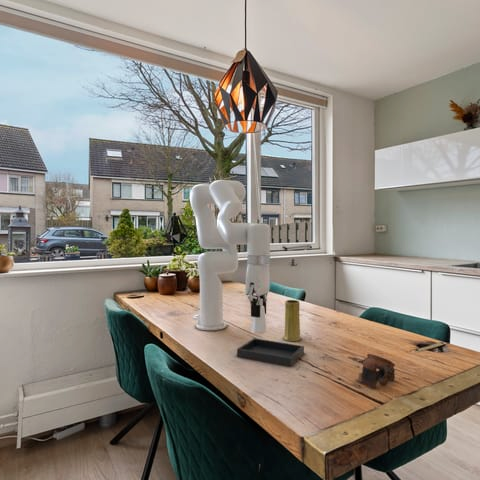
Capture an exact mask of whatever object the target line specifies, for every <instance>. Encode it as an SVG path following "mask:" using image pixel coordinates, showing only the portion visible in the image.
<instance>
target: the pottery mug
mask: <svg viewBox="0 0 480 480" xmlns="http://www.w3.org/2000/svg"><path fill="white" fill-rule="evenodd" d="M366 356H367V357H365V358H364V359H363V360H362V361H361V364H362V368H361V369H362V370H361V372H359V373H358V382H360V383H362V384H364V385H366V386H369V387H372V388H374V389H376V388H377V384H378V385H380V386H381V387H385V386H387V385H388V383H389V382H390V381H394V380H395V377H396V376H395V375H396V374H395V366H396V365H395V363H394V362H392V361H391V360H390V359H387V358H384V357H382V356H380V355H376V354H371V353H368V354H366ZM377 369H378V370H377Z"/></svg>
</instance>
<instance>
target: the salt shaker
mask: <svg viewBox="0 0 480 480" xmlns="http://www.w3.org/2000/svg"><path fill="white" fill-rule="evenodd" d="M255 298H256V300H257V297H255ZM259 305H260V317H252V316H251V326H250V328H251V329H250V332H251V333H252V334H258V335H262V334H266V332H267V330H268V329H267V321H266V319H267V318H266V314H265V309H264V306H262V305H263V299H262V298H260V300H259Z"/></svg>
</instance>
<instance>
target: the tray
mask: <svg viewBox="0 0 480 480" xmlns="http://www.w3.org/2000/svg"><path fill="white" fill-rule="evenodd" d="M304 354H305V346H304V345H299V344H292V343H287V342H280V341H274V340H268V339H262V338H255V337H253V338H252V339H250V340H249V341H247V342H245V343H244V344H242V345H241V346H239V347H238V348H237V349H236V357H237V358H242V359H243V358H244V359H248V360H254V361H258V362H259V361H260V362H263V363H269V364H275V365H280V366H284V367H285V366H286V367H292V366H293V365H294V364H295V363H296V362H298V361H299V359H300V358H301V357H302V356H304Z"/></svg>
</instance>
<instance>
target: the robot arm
mask: <svg viewBox="0 0 480 480" xmlns="http://www.w3.org/2000/svg"><path fill="white" fill-rule="evenodd" d="M246 193H247V190H246V188H245V185H244V183H242V182H241V181H239V180H229V179H217V180H214V181H212V182H211V183H199V184H196V185H193V186H192V187H191V190H190V193H189V201H190V206H191V209H192V212H193V215H194V218H195V225H196V232H197V233H196V234H197V241H198V245H199V247H200V248H201V249H204V250H215V251H205V252H202V253H200V254H199V255H198V257H197V260H196V261H197V262H196V265H197V270H198V277H199V278H198V279H199V314H196V313H195V314H194V315H193V317H192V320H193V321H197V323H196V324H195V325H196V328H197V329H198V330H200V331H220V330H223V329H225V328H226V327H227V322H226V321H224V320H223V319H224V313H223V312H224V311H223V309H224V308H223V303H224V300H223V299H224V298H223V297H224V295H223V294H224V293H223V292H224V288H223V287H224V286H223V282H222V281H221V279H220V278H219V276H218V275H221V274H223V275H224V274H233V273H235V272H236V271H237V270H238V268H239V255H238V248H237V245H241V246H242V245H246V248H247V250H246V251H247V252H246V254H247V255H246V256H247V257H246V258H247V260H246V261H247V263H246V265H247V266H246V272H245V287H244V292H245V293H244V294H245V295H246V296H247V299H248V300H249V304H250V317H251V318H252V317H260V305H259V300H260V298H262V299H263V305H262V306H264V309H265V315H266V314H267V302H268V294H269V292H270V289H271V278H270V277H271V275H270V265H271V227H270V225H269V223H261V222H260V223H259V222H258V223H255V222H232V221H231V219H233V218H235V217H237V216H238V215H239V214H240V213H241V211H242V208H243V205H242V202H243V201H244V199H245V197H246ZM208 205H213V206H215V205H216V207H217V208H218V214H217V218H216V215H215V213H214V211H213V210H212V209H211V208H210V207H209V206H208ZM218 249H221V251H219V250H218ZM217 250H218V251H217ZM256 298H257V300H256Z"/></svg>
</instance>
